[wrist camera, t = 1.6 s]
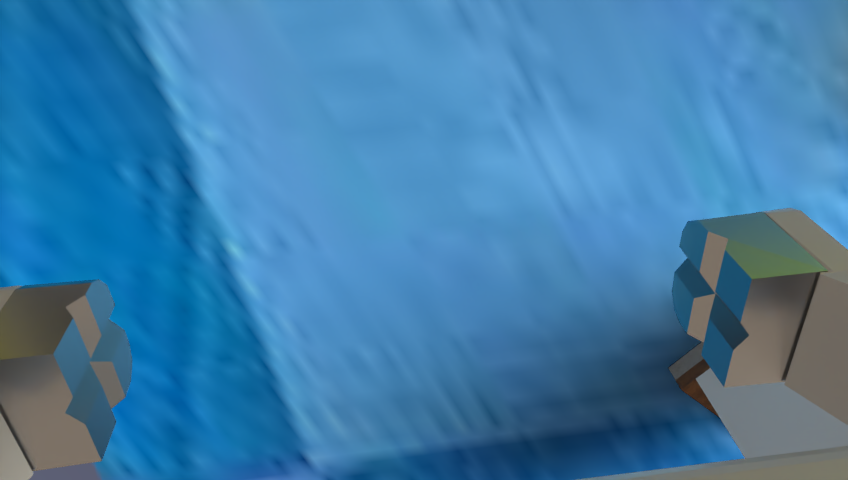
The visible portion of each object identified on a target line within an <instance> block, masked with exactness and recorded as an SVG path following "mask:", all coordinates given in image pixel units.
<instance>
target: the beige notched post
mask: <svg viewBox="0 0 848 480" xmlns="http://www.w3.org/2000/svg"><path fill="white" fill-rule="evenodd" d="M703 344H704V342H701V343H700V344H698V345H697V346H696V347H695V348H693V349H692V350H691V351H689V352H688V353H687V354H686V355H684V356H683V357H682V358H680V359H679V360H678V361H676V362H675V363H674V364H673V365H671V366H670V367H669V370H670V372H671V373H672V375H673V377H674V378H675V380H676V382H677V383H678V385H679V387H680V389H681V390H682V391H684V392H685V393H686V394H688V395H689V396H690V397H692V398H693V399H695V400H696V401H697V402H699V403H700V404H702V405H703V406H704V407H706V408H707V409H709V410H710V411H711V412H713V413H714V414H715V415H717V416H718V417H720V419H721V420H722V422H723V424H724V425H725V427H726V428H727V430H728V432H729V433H730V435H731V436H732V438H733V440H734V441H735V443H736V444H737V446H738V448H739V449H740V451H741V452H742V454H743V456H744V457H745V459H746V458H754V457H762V456H770V455H778V454H786V453H794V452H802V451H810V450H818V449H826V448H833V447H841V446H848V425H846V424H845V423H843V422H841V421H840V420H838V419H837V418H835V417H834V416H832V415H831V414H829V413H827V412H826V411H824V410H823V409H821V408H820V407H818V406H816V405H815V404H813V403H812V402H810V401H809V400H807V399H806V398H804V397H802V396H801V395H799V394H798V393H796V392H795V391H793V390H791V389H790V388H788V387H787V386H785V385H784V383H785V382H779V383H768V384H757V385H746V386H735V387H723V385H722V384H721V382H720V381H719V380H718V378H717V377H716V375H715V374H714V372H713V371H712V369H711V368H710V367H709V365H708V364H707V362H706V361H705V359H704V358H703V357H702V355H701V353H702V349H703Z"/></svg>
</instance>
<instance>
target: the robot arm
mask: <svg viewBox="0 0 848 480" xmlns="http://www.w3.org/2000/svg"><path fill="white" fill-rule="evenodd" d="M679 247H680V248H681V250H682V251H683V252H684V254H685V255H686V257H687V259H686V260H685V261H684V262H683V264H682V265H681V266H680V267H679V268H678V269H677V270H676V271H675V274H674V281H673V288H672V295H673V303H674V310H675V312H676V315H677V317H678V320H679V322H680V324H681V325H682V327H683V329H684V330H685V332H686V333H687V334H688V335H690V336H692V337H694V338H696V339H698V340H700V341H702V342H704V344H703V349H702V353H701V355H702V357H703V358H704V359H705V361H706V362H707V364H708V365H709V367H710V368H711V369H712V371H713V372H714V374H715V375H716V377H717V378H718V380H719V381H720V382H721V384H722V385H723V387H735V386H746V385H757V384H768V383H779V382H785V383H784V385H785V386H787V387H788V388H790V389H791V390H793V391H795V392H796V393H798V394H799V395H801V396H802V397H804V398H806V399H807V400H809V401H810V402H812V403H813V404H815V405H816V406H818V407H820V408H821V409H823V410H824V411H826V412H827V413H829V414H831V415H832V416H834V417H835V418H837V419H838V420H840V421H841V422H843V423H845V424H846V425H848V250H847V249H846V248H845V247H844V246H843V245H841V244H840V243H839V242H838V241H837V240H835V239H834V238H833V237H832V236H830V235H829V234H828V233H827V232H826V231H824V230H823V229H822V228H821V227H820V226H818V225H817V224H816V223H815V222H814V221H812V220H811V219H810V218H809V217H808V216H806V215H805V214H804V213H803V212H802V211H800V210H796V209H792V208H785V209H778V210H771V211H763V212H756V213H751V214H743V215H735V216H727V217H719V218H711V219H703V220H695V221H688V222H687V224H686V226H685V228H684V229H683V231H682V236H681V241H680V246H679ZM114 306H115V303H114V301H113V298H112V296H111V293H110V291H109V289H108V286H107V285H106V284H105V283H103V282H102V281H100V280H99V279H98V280H85V281H73V282H61V283H48V284H36V285H25V286H11V287H2V288H0V480H28V479H29V478H30V477H31V476H32V475H33V471H37V470H44V469H51V468H57V467H64V466H70V465H78V464H84V463H92V462H99V461H102V459H103V456H104V454H105V451H106V448H107V445H108V443H109V440H110V437H111V435H112V432H113V429H114V427H115V424H116V420H115V417H114V415H113V412H112V410H111V409H112V408H113V407H114V406H115V405H116V404H118V403H119V402H120V401H121V400H122V399H124V398H125V397H126V394H127V391H128V388H129V385H130V382H131V371H132V356H131V350H130V344H129V341H128V339H127V336H126V333H125V330H123V329H122V328H121V327H119V326H118V325H116V324H115V323H114V322H112V321H111V320H109V317H110V315H111V313H112V311H113V308H114ZM577 480H848V446H841V447H833V448H826V449H818V450H810V451H802V452H794V453H786V454H778V455H770V456H762V457H754V458H746V459H738V460H729V461H721V462H713V463H705V464H697V465H689V466H681V467H673V468H665V469H657V470H649V471H641V472H633V473H625V474H617V475H609V476H601V477H593V478H585V479H577Z"/></svg>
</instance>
